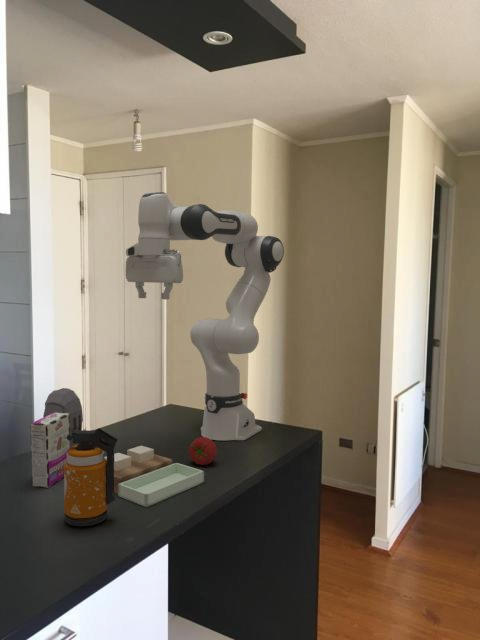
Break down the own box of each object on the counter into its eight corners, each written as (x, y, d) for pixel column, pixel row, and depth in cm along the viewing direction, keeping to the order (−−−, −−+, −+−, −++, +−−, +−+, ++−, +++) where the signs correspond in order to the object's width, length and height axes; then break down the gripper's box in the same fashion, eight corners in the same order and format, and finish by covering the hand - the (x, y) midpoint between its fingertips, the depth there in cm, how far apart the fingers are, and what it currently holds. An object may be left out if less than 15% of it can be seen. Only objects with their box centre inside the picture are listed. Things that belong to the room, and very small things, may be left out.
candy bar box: (54, 471, 148) (53, 411, 146) (71, 473, 147) (70, 413, 145) (30, 487, 137) (29, 422, 135) (48, 488, 136) (47, 423, 134)
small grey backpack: (65, 446, 169) (64, 382, 168) (90, 448, 168) (90, 384, 166) (39, 462, 155) (38, 392, 153) (66, 464, 153) (65, 394, 152)
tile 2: (141, 454, 151) (141, 445, 150) (153, 458, 148) (153, 449, 147) (127, 459, 147) (127, 449, 146) (139, 463, 144) (139, 453, 143)
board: (141, 464, 154) (141, 450, 154) (172, 474, 147) (172, 459, 147) (89, 482, 140) (88, 467, 140) (119, 494, 133) (119, 478, 133)
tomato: (207, 430, 159) (196, 432, 152) (225, 449, 157) (215, 452, 149) (189, 449, 160) (178, 452, 153) (207, 469, 158) (196, 473, 150)
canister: (70, 511, 123) (69, 424, 121) (119, 510, 124) (119, 423, 122) (59, 529, 114) (58, 435, 113) (113, 528, 115) (113, 435, 113)
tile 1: (118, 461, 144) (118, 452, 144) (131, 466, 141) (131, 456, 141) (103, 466, 140) (103, 457, 140) (115, 471, 137) (115, 461, 137)
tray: (176, 473, 148) (176, 462, 147) (204, 482, 141) (204, 471, 141) (117, 496, 132) (117, 484, 132) (146, 507, 126) (146, 494, 125)
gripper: (188, 249, 151) (187, 300, 152) (138, 251, 163) (138, 297, 164) (172, 248, 146) (171, 300, 147) (121, 250, 158) (121, 297, 159)
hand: (153, 298), depth 156 cm, fingers open, 8 cm apart
